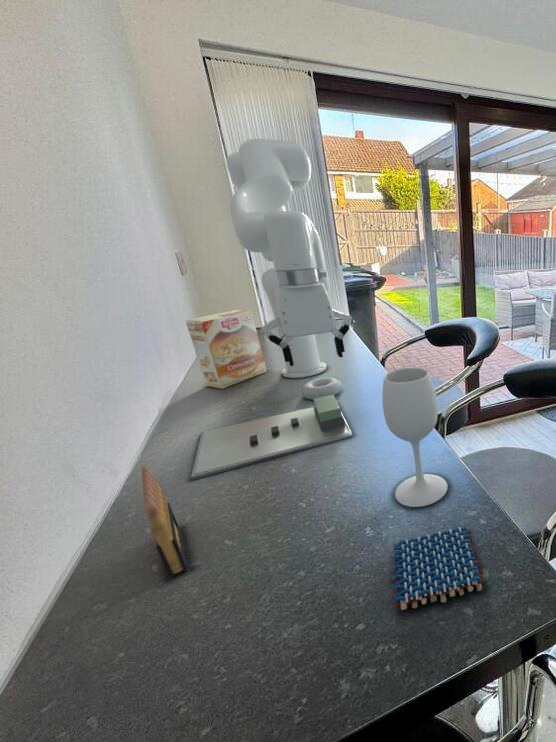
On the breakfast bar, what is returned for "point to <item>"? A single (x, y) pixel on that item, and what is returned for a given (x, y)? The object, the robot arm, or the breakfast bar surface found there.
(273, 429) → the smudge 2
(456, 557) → the woven mat
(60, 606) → the breakfast bar surface
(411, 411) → the wineglass
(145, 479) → the ammunition clip
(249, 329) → the coffeecake box
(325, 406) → the eraser
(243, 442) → the board
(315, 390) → the donut
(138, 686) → the breakfast bar surface
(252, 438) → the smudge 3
